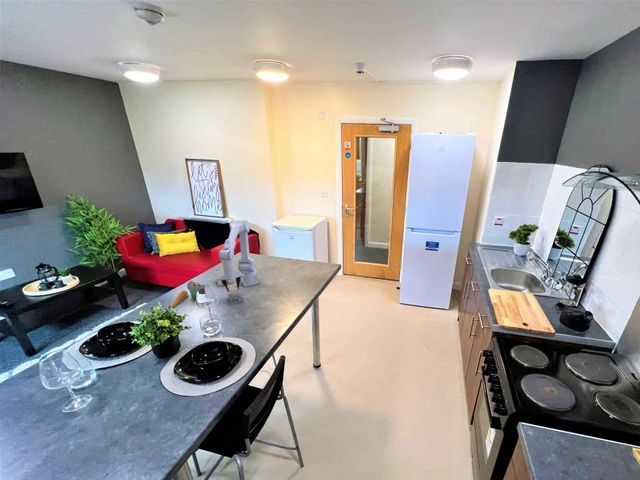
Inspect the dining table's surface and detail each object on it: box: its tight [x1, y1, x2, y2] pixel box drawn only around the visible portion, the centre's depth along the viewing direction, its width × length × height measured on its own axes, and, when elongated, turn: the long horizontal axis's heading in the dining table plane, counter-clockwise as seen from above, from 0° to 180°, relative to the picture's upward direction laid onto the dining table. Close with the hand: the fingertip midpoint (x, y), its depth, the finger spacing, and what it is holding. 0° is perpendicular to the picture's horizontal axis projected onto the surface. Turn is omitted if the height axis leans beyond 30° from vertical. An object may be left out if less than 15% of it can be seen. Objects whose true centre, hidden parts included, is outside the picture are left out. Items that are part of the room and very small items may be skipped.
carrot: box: [170, 290, 189, 308], centre depth 170 cm, size 20×4×4 cm, turn 3°
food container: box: [186, 280, 207, 302], centre depth 174 cm, size 12×6×10 cm, turn 62°
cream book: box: [227, 283, 240, 294], centre depth 173 cm, size 5×8×2 cm, turn 30°
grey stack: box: [227, 292, 242, 305], centre depth 175 cm, size 6×9×3 cm, turn 30°
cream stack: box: [216, 276, 229, 287], centre depth 196 cm, size 6×9×3 cm, turn 30°
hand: (233, 289), depth 173 cm, fingers closed on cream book, 5 cm apart
